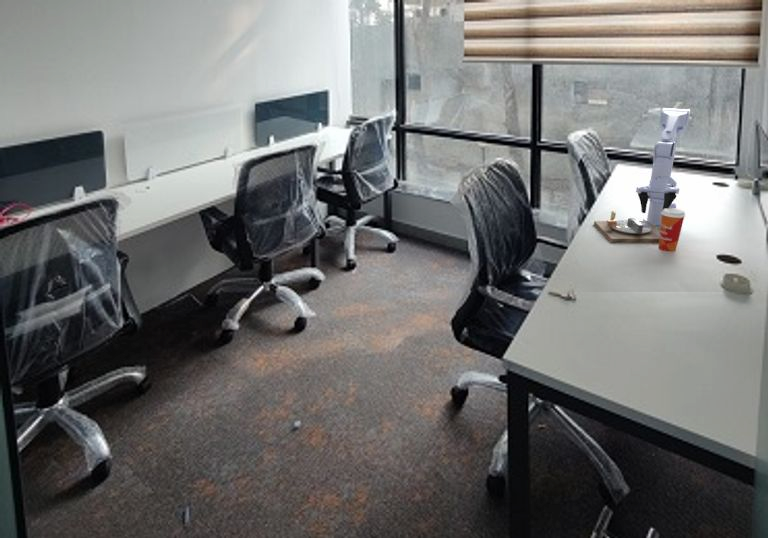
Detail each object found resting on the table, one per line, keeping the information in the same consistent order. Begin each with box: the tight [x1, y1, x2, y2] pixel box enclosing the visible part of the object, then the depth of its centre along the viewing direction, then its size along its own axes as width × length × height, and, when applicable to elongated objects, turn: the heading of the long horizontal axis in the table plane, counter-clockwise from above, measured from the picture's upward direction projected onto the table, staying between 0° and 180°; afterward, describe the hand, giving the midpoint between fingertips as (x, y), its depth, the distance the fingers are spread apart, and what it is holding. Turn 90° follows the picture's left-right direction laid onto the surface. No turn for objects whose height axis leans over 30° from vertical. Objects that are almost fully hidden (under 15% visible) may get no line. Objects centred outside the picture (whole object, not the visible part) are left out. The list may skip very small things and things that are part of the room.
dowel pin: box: [609, 210, 617, 220], centre depth 237 cm, size 2×2×5 cm
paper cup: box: [658, 207, 686, 253], centre depth 214 cm, size 8×8×14 cm
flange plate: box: [606, 217, 651, 234], centre depth 230 cm, size 16×16×4 cm
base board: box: [593, 220, 660, 244], centre depth 232 cm, size 21×21×2 cm
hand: (653, 212), depth 225 cm, fingers open, 7 cm apart
